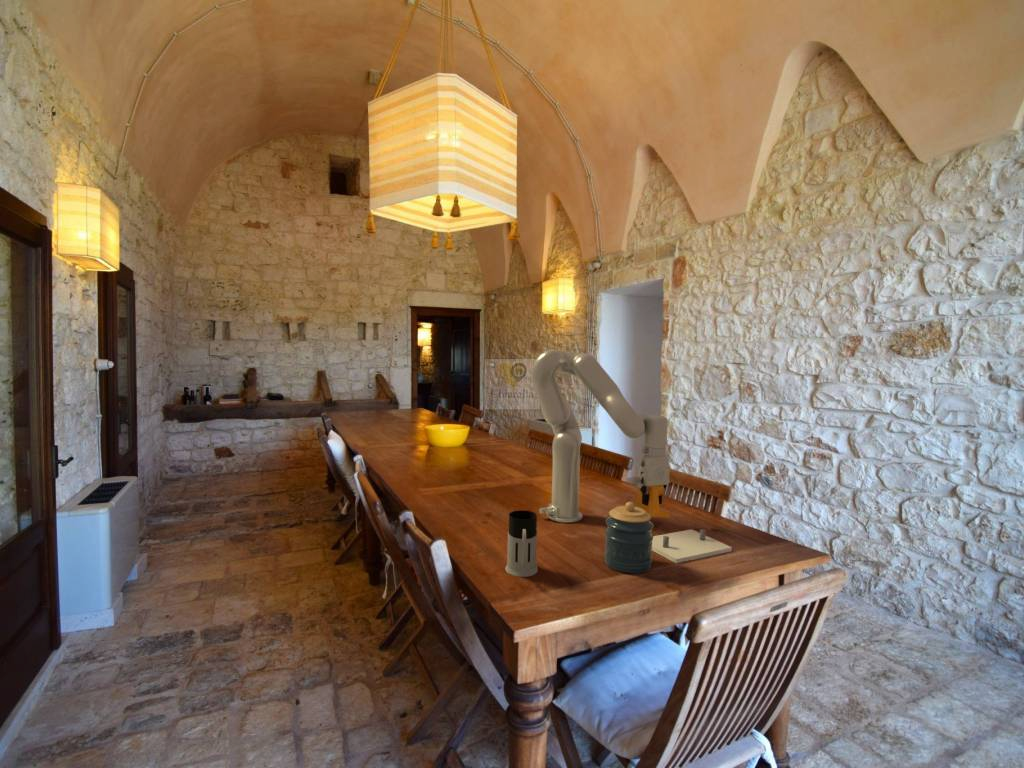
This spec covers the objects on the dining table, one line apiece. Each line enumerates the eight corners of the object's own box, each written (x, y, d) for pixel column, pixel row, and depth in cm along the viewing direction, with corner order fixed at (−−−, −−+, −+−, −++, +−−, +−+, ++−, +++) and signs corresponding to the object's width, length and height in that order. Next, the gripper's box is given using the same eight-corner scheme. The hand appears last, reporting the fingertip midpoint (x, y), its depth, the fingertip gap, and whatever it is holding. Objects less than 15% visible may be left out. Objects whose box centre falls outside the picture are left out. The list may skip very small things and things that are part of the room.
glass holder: (536, 562, 136) (537, 509, 135) (541, 587, 122) (542, 528, 121) (505, 562, 136) (506, 509, 135) (506, 586, 122) (507, 527, 121)
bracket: (670, 519, 165) (675, 484, 165) (653, 519, 162) (658, 483, 162) (650, 510, 175) (655, 476, 174) (633, 509, 172) (638, 475, 172)
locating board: (676, 563, 138) (676, 548, 137) (638, 542, 152) (639, 529, 152) (731, 551, 147) (732, 537, 147) (691, 532, 161) (691, 520, 161)
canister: (622, 578, 128) (625, 512, 127) (595, 558, 140) (597, 497, 139) (662, 570, 133) (664, 506, 132) (632, 551, 145) (634, 493, 144)
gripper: (642, 455, 160) (639, 510, 161) (681, 452, 167) (678, 504, 168) (627, 450, 166) (624, 503, 168) (665, 448, 174) (662, 498, 175)
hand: (651, 503), depth 168 cm, fingers closed on bracket, 4 cm apart
